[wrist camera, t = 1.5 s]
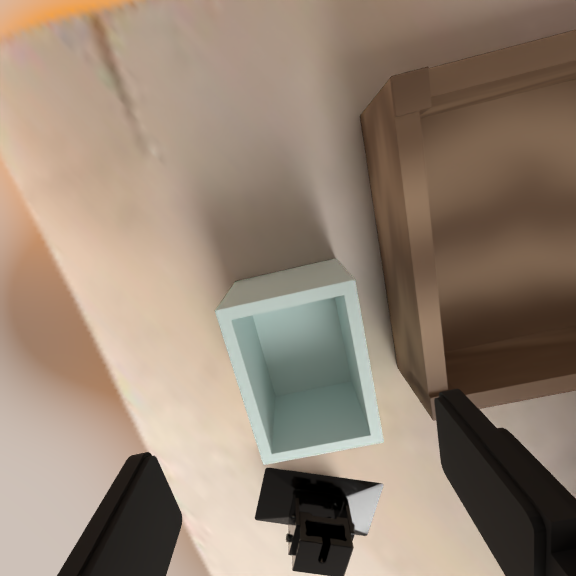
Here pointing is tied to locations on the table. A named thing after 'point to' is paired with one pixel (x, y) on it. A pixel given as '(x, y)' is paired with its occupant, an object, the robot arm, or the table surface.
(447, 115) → the big crate
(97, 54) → the table surface
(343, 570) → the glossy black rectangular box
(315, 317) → the small crate
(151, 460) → the robot arm
